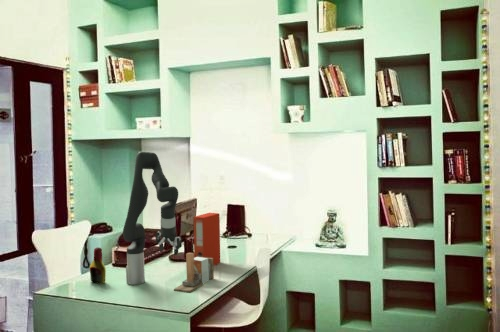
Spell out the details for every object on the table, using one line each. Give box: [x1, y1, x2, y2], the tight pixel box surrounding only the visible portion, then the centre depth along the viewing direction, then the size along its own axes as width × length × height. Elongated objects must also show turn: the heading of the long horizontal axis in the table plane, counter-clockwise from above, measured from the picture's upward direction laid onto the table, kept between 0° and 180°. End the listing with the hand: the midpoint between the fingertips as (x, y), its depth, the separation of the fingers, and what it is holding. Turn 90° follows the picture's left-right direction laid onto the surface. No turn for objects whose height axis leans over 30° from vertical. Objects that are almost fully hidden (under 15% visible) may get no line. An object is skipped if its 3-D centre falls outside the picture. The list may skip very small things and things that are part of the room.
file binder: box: [193, 212, 221, 267], centre depth 301 cm, size 8×17×32 cm, turn 150°
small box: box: [194, 257, 210, 284], centre depth 268 cm, size 8×6×13 cm
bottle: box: [89, 247, 107, 285], centre depth 271 cm, size 12×6×20 cm, turn 48°
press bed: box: [173, 257, 215, 294], centre depth 263 cm, size 10×26×12 cm, turn 156°
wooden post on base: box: [181, 252, 201, 287], centre depth 260 cm, size 7×8×17 cm
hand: (168, 252), depth 247 cm, fingers open, 8 cm apart
